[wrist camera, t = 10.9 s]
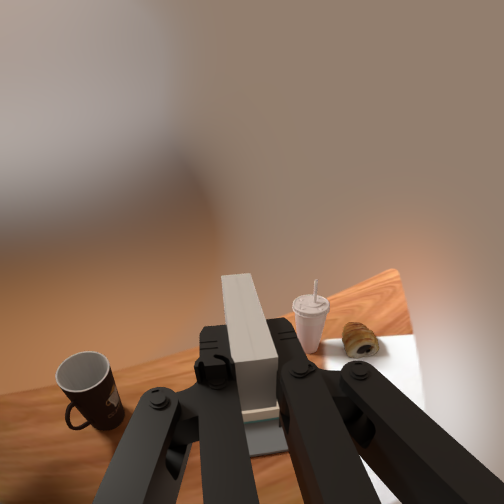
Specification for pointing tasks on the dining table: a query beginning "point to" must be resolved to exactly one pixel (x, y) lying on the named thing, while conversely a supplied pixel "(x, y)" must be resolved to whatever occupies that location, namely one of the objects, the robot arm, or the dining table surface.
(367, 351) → the pastry
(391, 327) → the dining table surface
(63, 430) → the dining table surface
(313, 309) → the smoothie
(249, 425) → the mat
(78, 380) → the coffee mug
